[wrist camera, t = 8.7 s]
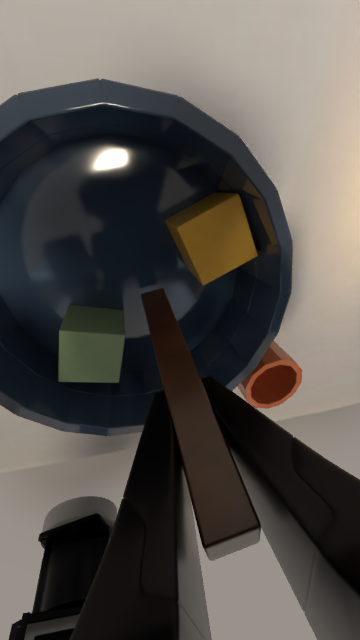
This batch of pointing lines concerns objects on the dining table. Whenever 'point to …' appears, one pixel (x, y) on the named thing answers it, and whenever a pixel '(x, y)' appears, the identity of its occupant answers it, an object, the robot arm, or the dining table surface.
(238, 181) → the bowl
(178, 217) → the mustard block
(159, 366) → the stick
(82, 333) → the sage block
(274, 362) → the holder
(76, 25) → the dining table surface
